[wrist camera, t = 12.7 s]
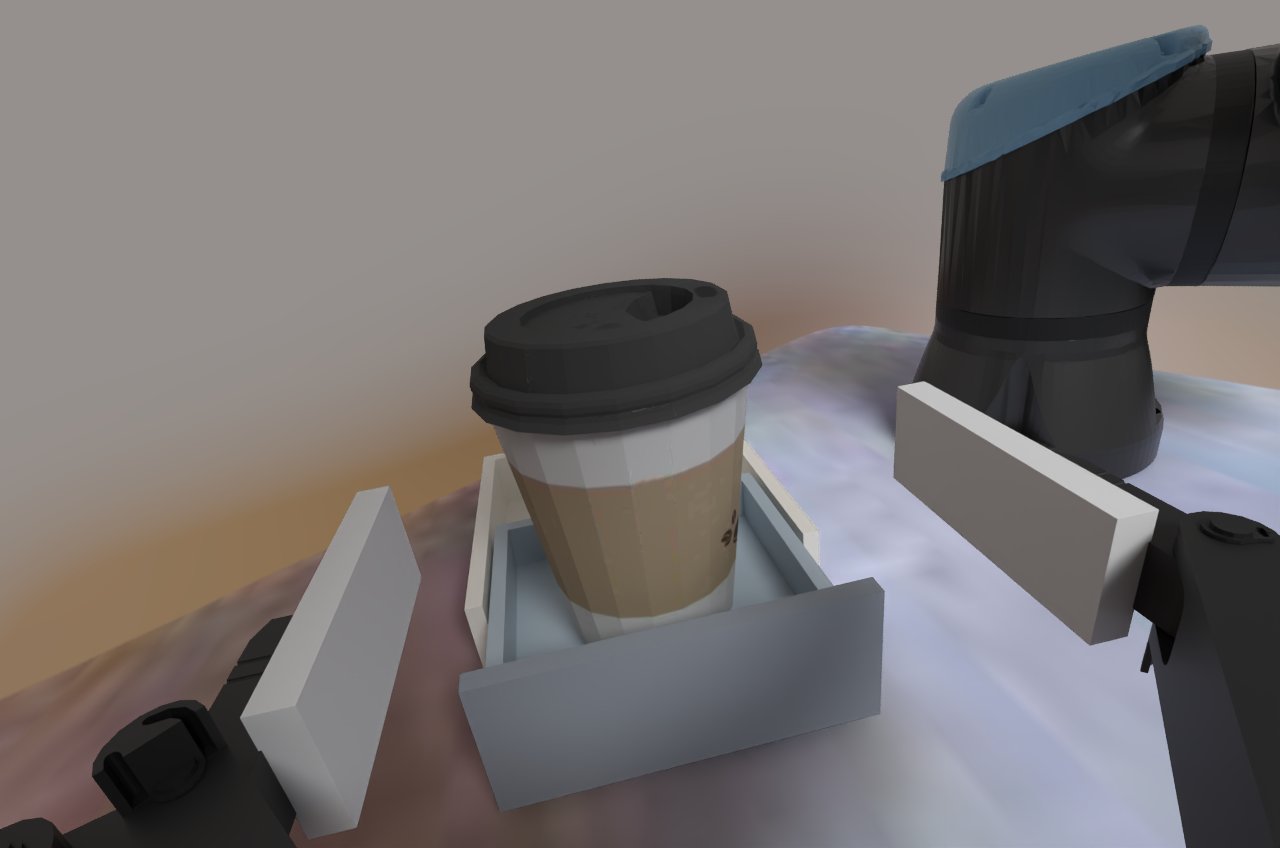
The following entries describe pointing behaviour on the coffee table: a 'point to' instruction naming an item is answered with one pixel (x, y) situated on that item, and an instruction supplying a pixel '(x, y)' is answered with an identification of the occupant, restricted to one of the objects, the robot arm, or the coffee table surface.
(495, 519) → the box
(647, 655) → the tray
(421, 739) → the coffee table surface
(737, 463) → the coffee cup
